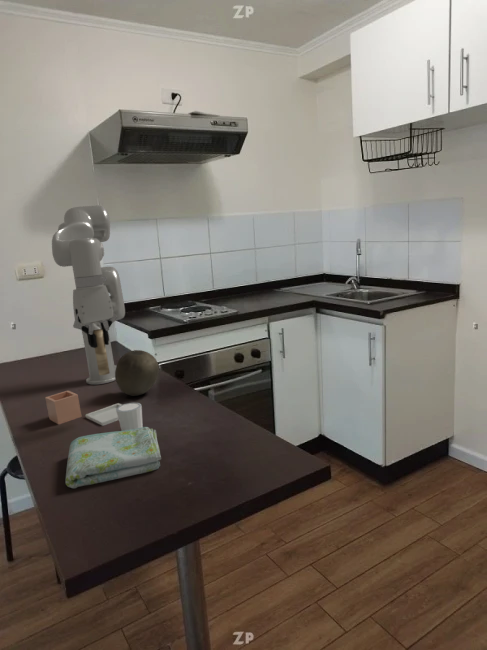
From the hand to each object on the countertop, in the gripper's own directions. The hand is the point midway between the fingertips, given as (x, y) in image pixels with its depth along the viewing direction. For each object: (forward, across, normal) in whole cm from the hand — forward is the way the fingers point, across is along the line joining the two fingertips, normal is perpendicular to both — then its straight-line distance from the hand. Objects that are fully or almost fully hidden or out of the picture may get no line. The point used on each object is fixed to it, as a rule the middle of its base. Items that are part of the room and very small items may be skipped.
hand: (99, 345), depth 139 cm
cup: (+22, +9, -12) cm, 27 cm away
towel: (+23, +13, +28) cm, 39 cm away
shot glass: (+23, +1, +14) cm, 27 cm away
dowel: (+9, 0, 0) cm, 9 cm away
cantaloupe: (+22, -17, -12) cm, 30 cm away
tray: (+22, 0, -1) cm, 22 cm away
